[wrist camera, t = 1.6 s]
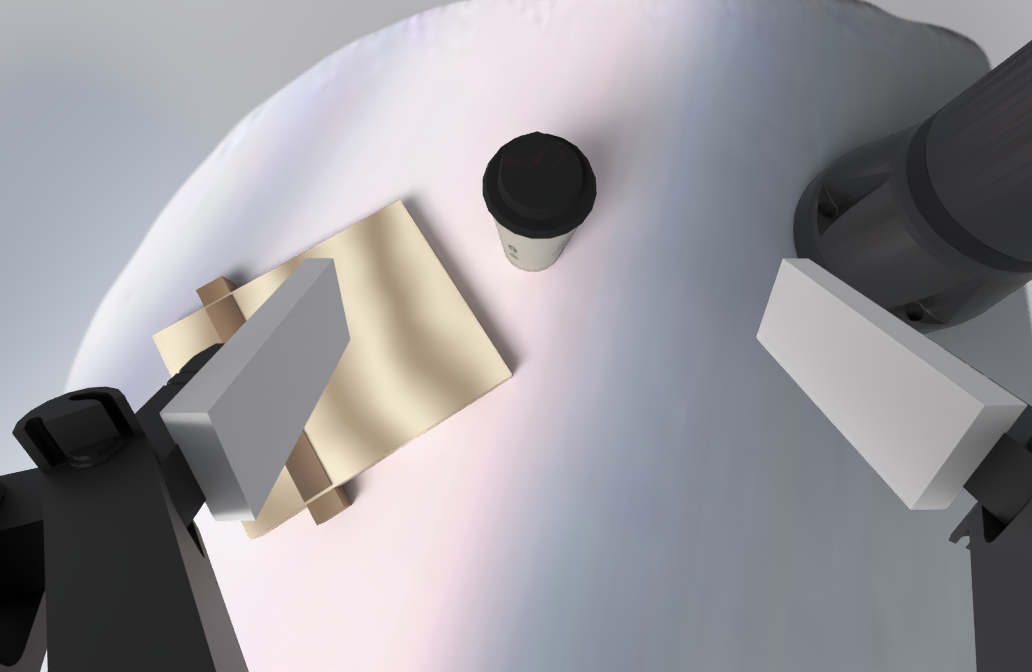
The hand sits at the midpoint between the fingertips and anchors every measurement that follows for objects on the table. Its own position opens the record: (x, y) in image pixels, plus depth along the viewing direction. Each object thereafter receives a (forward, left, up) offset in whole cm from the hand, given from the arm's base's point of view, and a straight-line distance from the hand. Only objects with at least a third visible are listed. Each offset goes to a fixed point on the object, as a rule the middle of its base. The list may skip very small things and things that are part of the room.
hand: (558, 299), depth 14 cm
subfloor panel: (+11, -9, -20) cm, 25 cm away
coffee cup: (-6, -9, -21) cm, 23 cm away
